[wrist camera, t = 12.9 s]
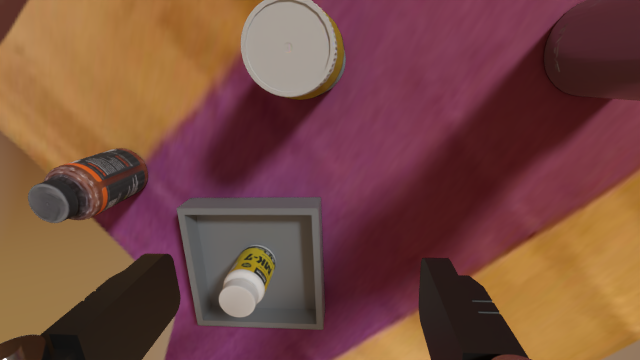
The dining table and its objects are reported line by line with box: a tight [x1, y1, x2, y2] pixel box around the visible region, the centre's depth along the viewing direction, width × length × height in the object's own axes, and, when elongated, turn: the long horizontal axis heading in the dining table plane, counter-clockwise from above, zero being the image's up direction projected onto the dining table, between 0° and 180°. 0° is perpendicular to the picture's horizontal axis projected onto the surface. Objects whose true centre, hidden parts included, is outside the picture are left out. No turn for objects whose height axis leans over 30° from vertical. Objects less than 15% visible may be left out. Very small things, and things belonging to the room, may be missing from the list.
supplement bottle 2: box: [219, 245, 276, 317], centre depth 38 cm, size 5×5×8 cm
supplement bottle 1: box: [28, 148, 148, 223], centre depth 35 cm, size 6×6×11 cm
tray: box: [177, 197, 325, 330], centre depth 41 cm, size 17×17×4 cm
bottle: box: [241, 0, 346, 100], centre depth 27 cm, size 7×7×15 cm
